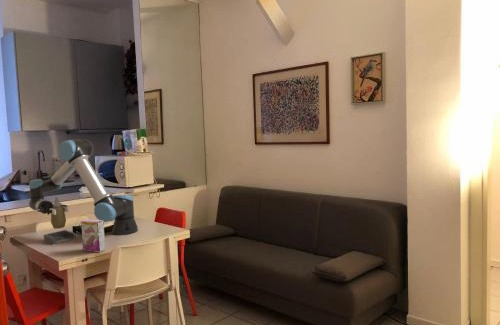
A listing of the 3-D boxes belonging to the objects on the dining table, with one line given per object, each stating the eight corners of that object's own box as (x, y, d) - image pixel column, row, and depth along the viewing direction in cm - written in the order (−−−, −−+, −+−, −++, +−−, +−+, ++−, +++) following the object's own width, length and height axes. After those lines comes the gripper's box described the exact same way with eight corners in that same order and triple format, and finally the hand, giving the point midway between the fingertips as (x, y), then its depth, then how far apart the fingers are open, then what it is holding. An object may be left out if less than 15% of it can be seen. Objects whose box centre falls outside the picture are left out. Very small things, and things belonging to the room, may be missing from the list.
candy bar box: (82, 251, 225) (80, 221, 223) (89, 248, 230) (86, 219, 228) (99, 252, 222) (97, 222, 220) (106, 249, 226) (103, 220, 224)
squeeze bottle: (54, 226, 251) (51, 196, 249) (68, 225, 252) (66, 195, 250) (49, 229, 243) (46, 199, 241) (63, 229, 244) (61, 198, 242)
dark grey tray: (44, 240, 248) (43, 234, 248) (65, 235, 258) (65, 229, 257) (53, 244, 239) (53, 238, 239) (76, 239, 249) (75, 233, 249)
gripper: (60, 209, 266) (78, 214, 250) (28, 215, 251) (44, 220, 236) (59, 197, 265) (77, 201, 250) (27, 203, 250) (43, 207, 235)
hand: (61, 211), depth 243 cm, fingers closed on squeeze bottle, 6 cm apart
